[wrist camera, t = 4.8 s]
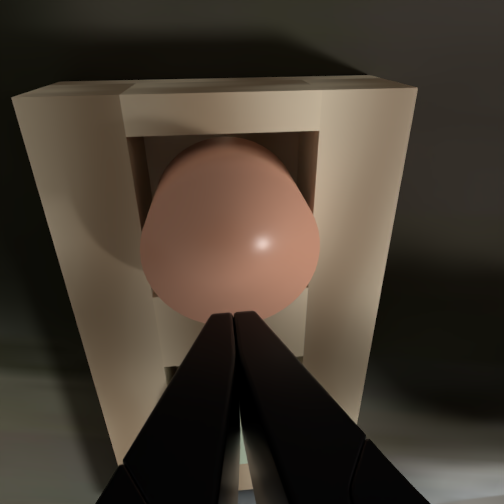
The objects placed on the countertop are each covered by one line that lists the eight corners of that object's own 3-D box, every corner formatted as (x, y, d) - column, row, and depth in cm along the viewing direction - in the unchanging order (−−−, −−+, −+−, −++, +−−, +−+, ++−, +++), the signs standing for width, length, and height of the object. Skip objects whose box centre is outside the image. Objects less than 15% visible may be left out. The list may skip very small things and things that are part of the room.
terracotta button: (299, 134, 11) (327, 164, 9) (293, 264, 14) (314, 320, 11) (145, 139, 11) (125, 172, 8) (163, 272, 13) (152, 331, 11)
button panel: (369, 75, 13) (418, 87, 10) (319, 480, 24) (335, 544, 21) (59, 81, 12) (11, 97, 9) (155, 497, 24) (147, 566, 20)
